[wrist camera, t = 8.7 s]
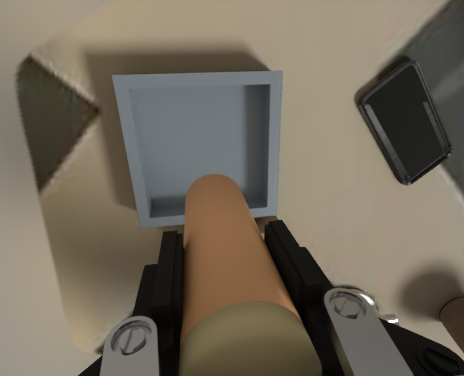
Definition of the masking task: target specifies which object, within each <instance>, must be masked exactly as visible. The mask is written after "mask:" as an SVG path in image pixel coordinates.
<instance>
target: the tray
mask: <svg viewBox="0 0 464 376" xmlns="http://www.w3.org/2000/svg"><path fill="white" fill-rule="evenodd" d="M282 76H283V71H247V72H210V73H172V74H134V75H112V80H113V85H114V90H115V95H116V101H117V106H118V111H119V117H120V122H121V127H122V133H123V138H124V143H125V149H126V154H127V159H128V165H129V170H130V175H131V181H132V186H133V191H134V197H135V202H136V207H137V213H138V218H139V223H140V229H141V228H151V227H162V226H172V225H182V224H185V199H186V194H187V191H188V189H189V187H190V186H191V185H192V183H193V182H195V181H196V180H197V179H199V178H200V177H202V176H205V175H209V174H221V175H225V176H227V177H229V178H231V179H232V180H234V181H235V182H236V183H237V185H238V186H239V188H240V190H241V192H242V194H243V196H244V199H245V201H246V203H247V205H248V207H249V209H250V211H251V214H252V216H253V218H254V217H264V216H275V215H277V198H278V173H279V149H280V125H281V101H282Z"/></svg>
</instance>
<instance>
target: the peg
mask: <svg viewBox="0 0 464 376" xmlns="http://www.w3.org/2000/svg"><path fill="white" fill-rule="evenodd" d="M179 376H322V367H321V363H320V360H319V357H318V355H317V353H316V351H315V349H314V347H313V345H312V342H311V340H310V338H309V336H308V334H307V332H306V329H305V327H304V325H303V323H302V321H301V319H300V317H299V314H298V312H297V310H296V308H295V306H294V304H293V302H292V299H291V297H290V295H289V293H288V291H287V289H286V287H285V284H284V282H283V280H282V278H281V276H280V274H279V272H278V269H277V267H276V265H275V263H274V261H273V259H272V256H271V254H270V252H269V250H268V248H267V246H266V244H265V241H264V239H263V237H262V235H261V233H260V231H259V229H258V226H257V224H256V222H255V220H254V218H253V216H252V214H251V211H250V209H249V207H248V205H247V203H246V201H245V199H244V196H243V194H242V192H241V190H240V188H239V186H238V185H237V183H236V182H235V181H234V180H232V179H231V178H229V177H227V176H225V175H221V174H209V175H205V176H202V177H200V178H199V179H197V180H196V181H195V182H193V183H192V185H191V186H190V187H189V189H188V191H187V194H186V199H185V224H184V272H183V302H182V328H181V334H180V358H179Z"/></svg>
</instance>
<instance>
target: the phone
mask: <svg viewBox="0 0 464 376" xmlns="http://www.w3.org/2000/svg"><path fill="white" fill-rule="evenodd" d="M387 76H388V77H387ZM358 106H359V109H360V111H361V113H362V115H363V116H364V118H365V120H366V122H367V124H368V126H369V128H370V129H371V131H372V133H373V135H374V137H375V139H376V141H377V142H378V144H379V146H380V148H381V150H382V152H383V154H384V155H385V157H386V159H387V161H388V163H389V165H390V167H391V168H392V170H393V172H394V174H395V176H396V178H397V179H398V181H399V182H400V183H402V184H404V185H411V184H413V183H414V182H415V181H417V180H418V179H419V178H421V177H422V176H424V175H425V174H426V173H428V172H429V171H431V170H432V169H433V168H435V167H436V166H437V165H439V164H440V163H442V162H443V161H444V160H446V159H447V158H448V157H449V156H450V155H451V153H452V145H451V143H450V140H449V138H448V135H447V133H446V130H445V128H444V125H443V123H442V120H441V118H440V115H439V113H438V110H437V108H436V105H435V102H434V100H433V97H432V95H431V92H430V90H429V87H428V85H427V82H426V80H425V77H424V75H423V72H422V70H421V67H420V65H419V63H418V62H417V61H416V60H408V61H404V62H403V63H401V64H400V65H399V66H397V67H396V68H395V69H394V70H392V71H391V72H390V73H389V74H387V75H386V76H385V77H384V78H382V79H381V80H380V81H379V82H377V83H376V84H375V85H374V86H372V87H371V88H370V89H369V90H367V91H366V92H365V93H364V94H363V95H362V96H361V97H360V99H359V101H358Z"/></svg>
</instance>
